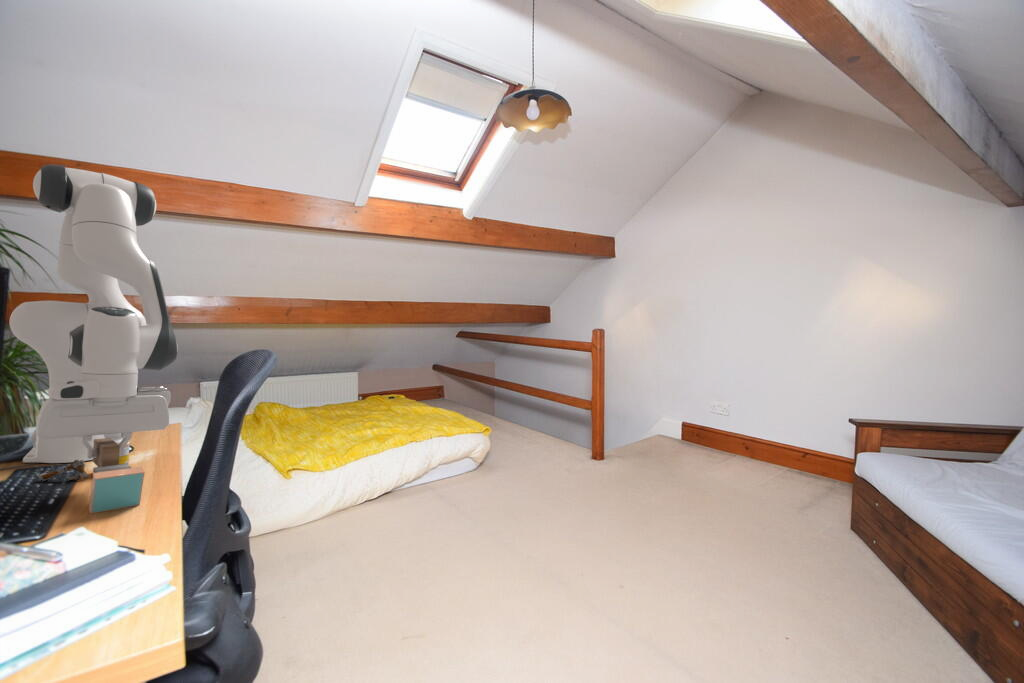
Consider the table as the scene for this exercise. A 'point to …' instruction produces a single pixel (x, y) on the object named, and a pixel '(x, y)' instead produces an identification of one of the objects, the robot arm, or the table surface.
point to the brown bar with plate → (107, 456)
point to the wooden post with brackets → (64, 469)
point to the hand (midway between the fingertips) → (105, 456)
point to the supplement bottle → (118, 438)
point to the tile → (116, 489)
